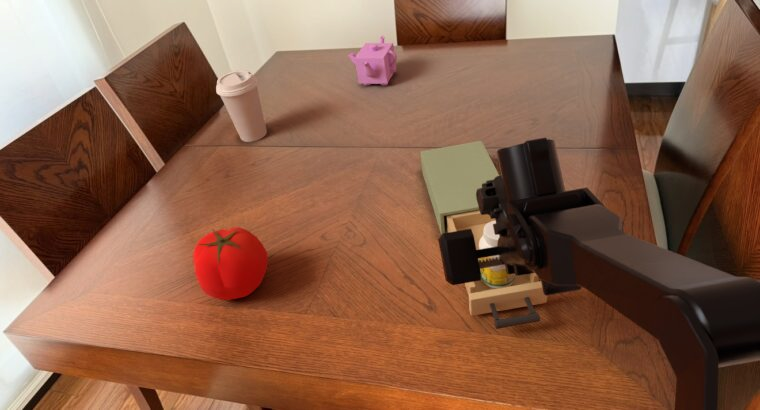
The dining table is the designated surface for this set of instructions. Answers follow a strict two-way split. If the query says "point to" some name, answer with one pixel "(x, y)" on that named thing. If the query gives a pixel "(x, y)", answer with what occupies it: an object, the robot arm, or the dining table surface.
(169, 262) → the dining table surface
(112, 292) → the dining table surface
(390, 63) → the teapot
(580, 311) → the dining table surface
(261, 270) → the tomato
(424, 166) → the cabinet
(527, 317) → the drawer
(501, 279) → the supplement bottle
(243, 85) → the coffee cup
